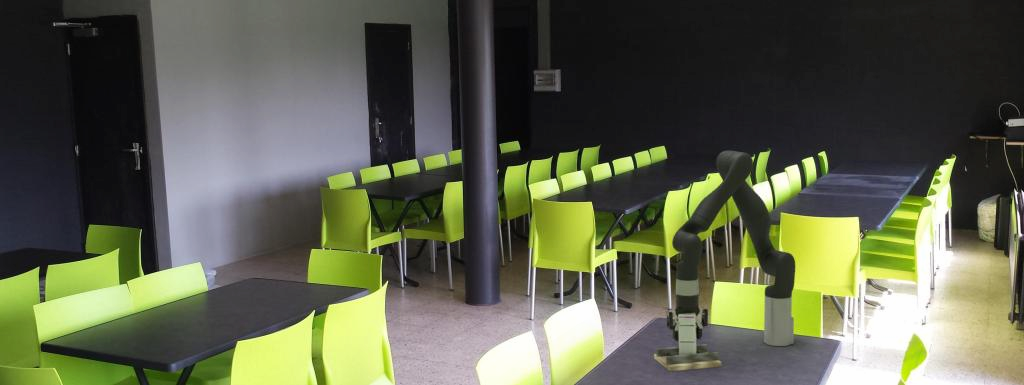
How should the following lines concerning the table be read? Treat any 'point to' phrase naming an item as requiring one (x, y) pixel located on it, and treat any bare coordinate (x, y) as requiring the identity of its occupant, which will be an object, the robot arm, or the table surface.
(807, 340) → the table surface
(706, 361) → the rail board
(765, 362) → the table surface
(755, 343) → the table surface
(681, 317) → the syrup box
